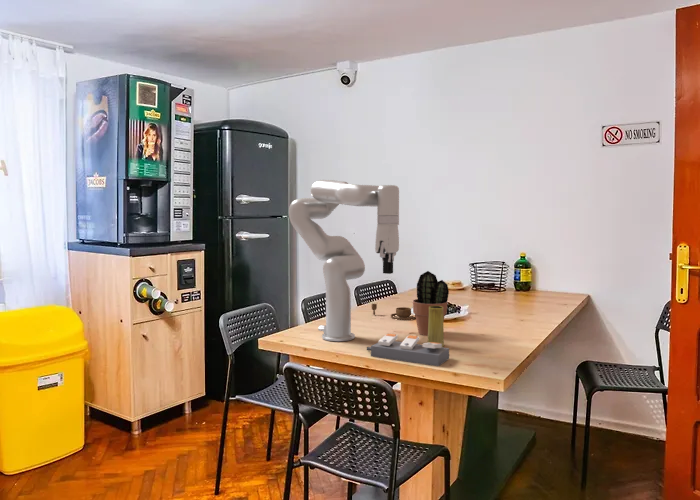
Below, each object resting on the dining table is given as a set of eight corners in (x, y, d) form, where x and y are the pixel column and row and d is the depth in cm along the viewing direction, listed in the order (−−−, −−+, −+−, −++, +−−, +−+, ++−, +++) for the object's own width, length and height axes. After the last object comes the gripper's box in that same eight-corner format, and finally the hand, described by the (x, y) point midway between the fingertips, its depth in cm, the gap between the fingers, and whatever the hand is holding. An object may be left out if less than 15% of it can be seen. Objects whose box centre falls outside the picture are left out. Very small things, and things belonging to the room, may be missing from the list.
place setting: (397, 323, 237) (397, 310, 236) (368, 316, 253) (368, 304, 252) (426, 318, 247) (426, 306, 247) (397, 312, 263) (397, 300, 263)
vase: (442, 343, 199) (442, 305, 198) (445, 347, 193) (446, 308, 192) (425, 343, 199) (426, 305, 198) (428, 348, 193) (429, 308, 192)
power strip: (360, 354, 184) (360, 343, 184) (373, 348, 193) (373, 337, 192) (438, 366, 170) (438, 353, 170) (449, 358, 179) (449, 346, 178)
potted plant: (420, 338, 207) (421, 273, 205) (407, 331, 220) (407, 270, 218) (453, 336, 210) (453, 272, 208) (438, 329, 223) (438, 268, 222)
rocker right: (422, 346, 174) (422, 342, 174) (430, 345, 180) (430, 341, 180) (434, 348, 172) (434, 344, 172) (441, 347, 178) (441, 343, 178)
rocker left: (378, 344, 182) (378, 340, 182) (387, 336, 188) (387, 333, 188) (389, 345, 180) (388, 342, 180) (397, 338, 186) (397, 334, 186)
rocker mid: (400, 348, 178) (399, 344, 178) (408, 338, 184) (408, 334, 184) (411, 349, 176) (410, 346, 176) (419, 339, 182) (419, 336, 182)
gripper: (387, 220, 196) (387, 270, 197) (368, 221, 183) (368, 275, 184) (406, 220, 192) (406, 271, 194) (388, 221, 179) (388, 276, 181)
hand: (388, 273), depth 189 cm, fingers closed
